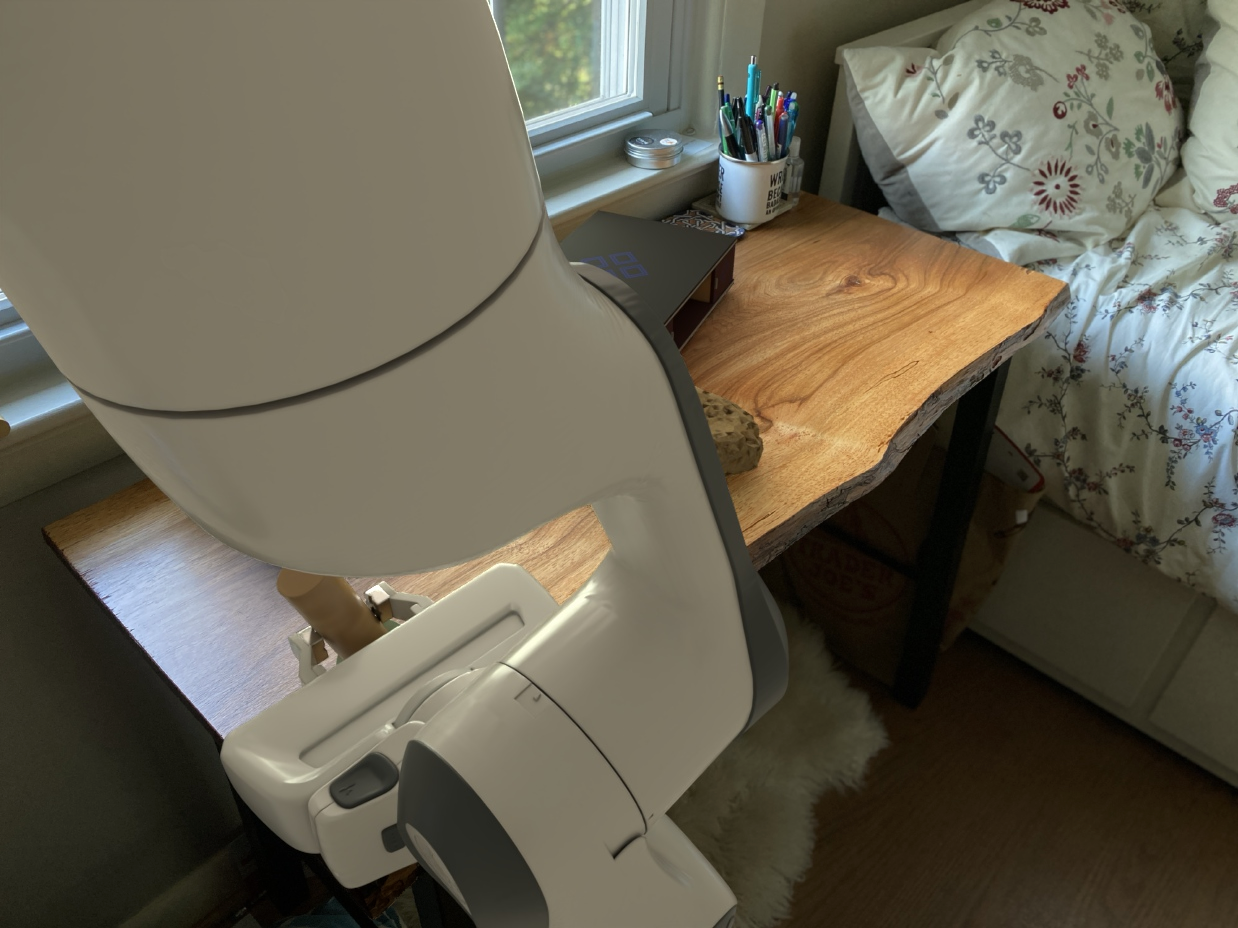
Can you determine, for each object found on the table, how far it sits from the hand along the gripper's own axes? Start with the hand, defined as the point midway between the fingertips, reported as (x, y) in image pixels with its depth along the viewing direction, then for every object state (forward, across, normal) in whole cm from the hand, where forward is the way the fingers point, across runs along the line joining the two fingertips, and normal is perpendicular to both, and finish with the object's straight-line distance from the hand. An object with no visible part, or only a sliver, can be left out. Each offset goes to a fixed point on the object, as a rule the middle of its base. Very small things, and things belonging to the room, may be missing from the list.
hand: (337, 615), depth 58 cm
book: (+23, -47, +8) cm, 54 cm away
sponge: (+6, -33, +8) cm, 35 cm away
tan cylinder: (-1, -2, +6) cm, 7 cm away
